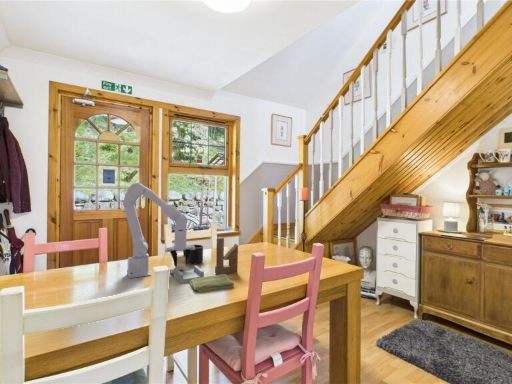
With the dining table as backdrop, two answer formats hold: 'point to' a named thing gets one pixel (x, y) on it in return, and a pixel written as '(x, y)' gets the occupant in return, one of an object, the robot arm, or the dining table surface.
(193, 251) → the mug
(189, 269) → the pad
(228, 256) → the brown angular piece
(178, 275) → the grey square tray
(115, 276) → the dining table surface
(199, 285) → the washcloth
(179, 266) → the block
